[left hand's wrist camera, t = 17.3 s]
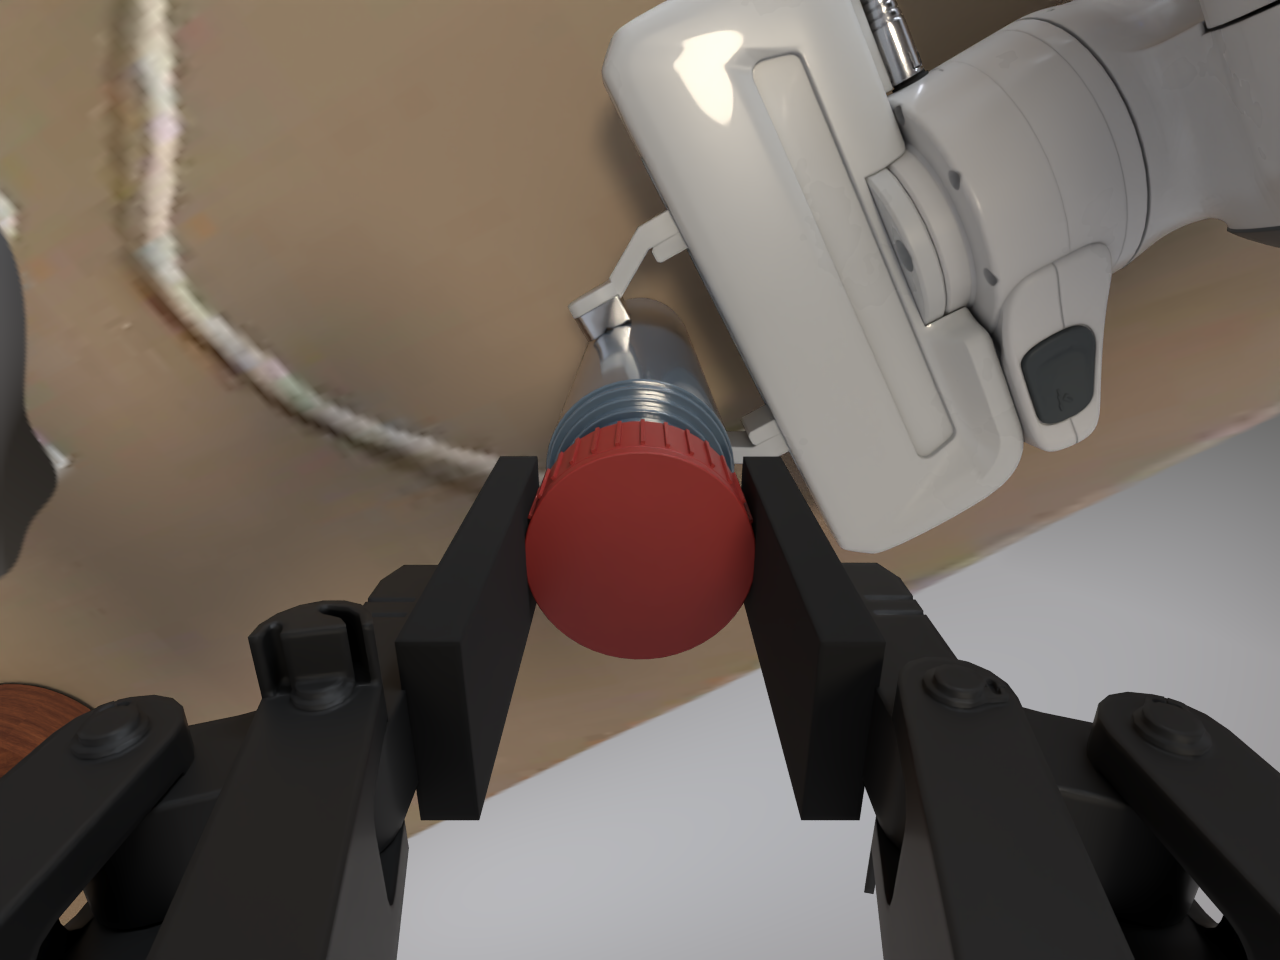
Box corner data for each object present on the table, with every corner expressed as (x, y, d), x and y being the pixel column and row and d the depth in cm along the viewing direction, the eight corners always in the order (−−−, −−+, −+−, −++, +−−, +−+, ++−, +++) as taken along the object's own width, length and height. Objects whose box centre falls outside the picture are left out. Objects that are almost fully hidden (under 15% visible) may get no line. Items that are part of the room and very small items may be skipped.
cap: (504, 563, 15) (485, 611, 13) (586, 380, 13) (578, 406, 12) (686, 637, 16) (692, 693, 14) (783, 472, 14) (804, 509, 12)
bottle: (698, 307, 32) (788, 454, 13) (679, 404, 33) (732, 666, 14) (598, 289, 32) (532, 411, 12) (583, 388, 33) (505, 633, 14)
